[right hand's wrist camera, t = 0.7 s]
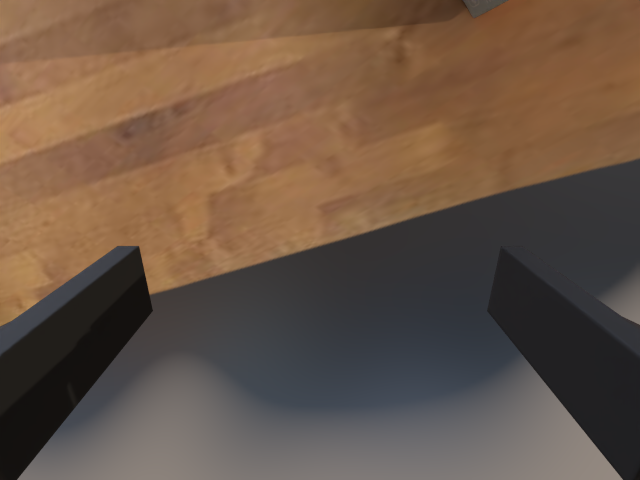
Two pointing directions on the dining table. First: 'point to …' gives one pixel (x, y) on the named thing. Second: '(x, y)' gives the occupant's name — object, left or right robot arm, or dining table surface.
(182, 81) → the dining table surface
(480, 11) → the hard drive box
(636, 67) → the dining table surface
